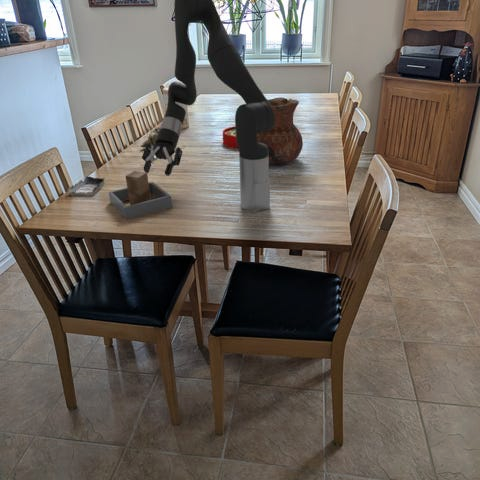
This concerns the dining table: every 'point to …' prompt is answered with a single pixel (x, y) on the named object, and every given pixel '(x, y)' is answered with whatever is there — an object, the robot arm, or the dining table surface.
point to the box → (143, 207)
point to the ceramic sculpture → (151, 139)
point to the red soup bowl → (230, 137)
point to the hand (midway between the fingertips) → (156, 173)
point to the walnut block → (138, 187)
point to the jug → (282, 133)
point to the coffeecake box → (165, 96)
